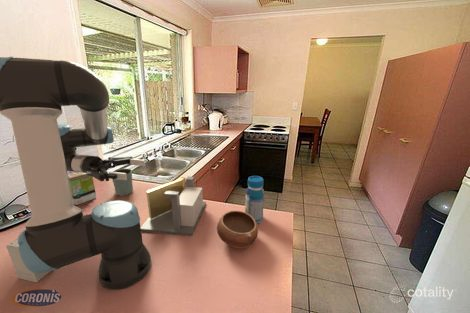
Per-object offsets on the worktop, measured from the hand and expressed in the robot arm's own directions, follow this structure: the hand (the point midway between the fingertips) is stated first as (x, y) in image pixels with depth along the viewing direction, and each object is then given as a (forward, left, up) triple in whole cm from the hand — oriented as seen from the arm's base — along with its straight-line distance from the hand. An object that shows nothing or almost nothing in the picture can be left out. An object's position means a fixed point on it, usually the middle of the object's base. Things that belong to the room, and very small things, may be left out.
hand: (136, 169), depth 87 cm
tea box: (+33, +29, -24) cm, 50 cm away
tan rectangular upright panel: (0, -12, -22) cm, 25 cm away
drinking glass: (+31, +8, -24) cm, 40 cm away
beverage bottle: (-19, -46, -24) cm, 55 cm away
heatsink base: (-4, -15, -24) cm, 29 cm away
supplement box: (-17, +31, -24) cm, 43 cm away
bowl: (-29, -33, -24) cm, 50 cm away
